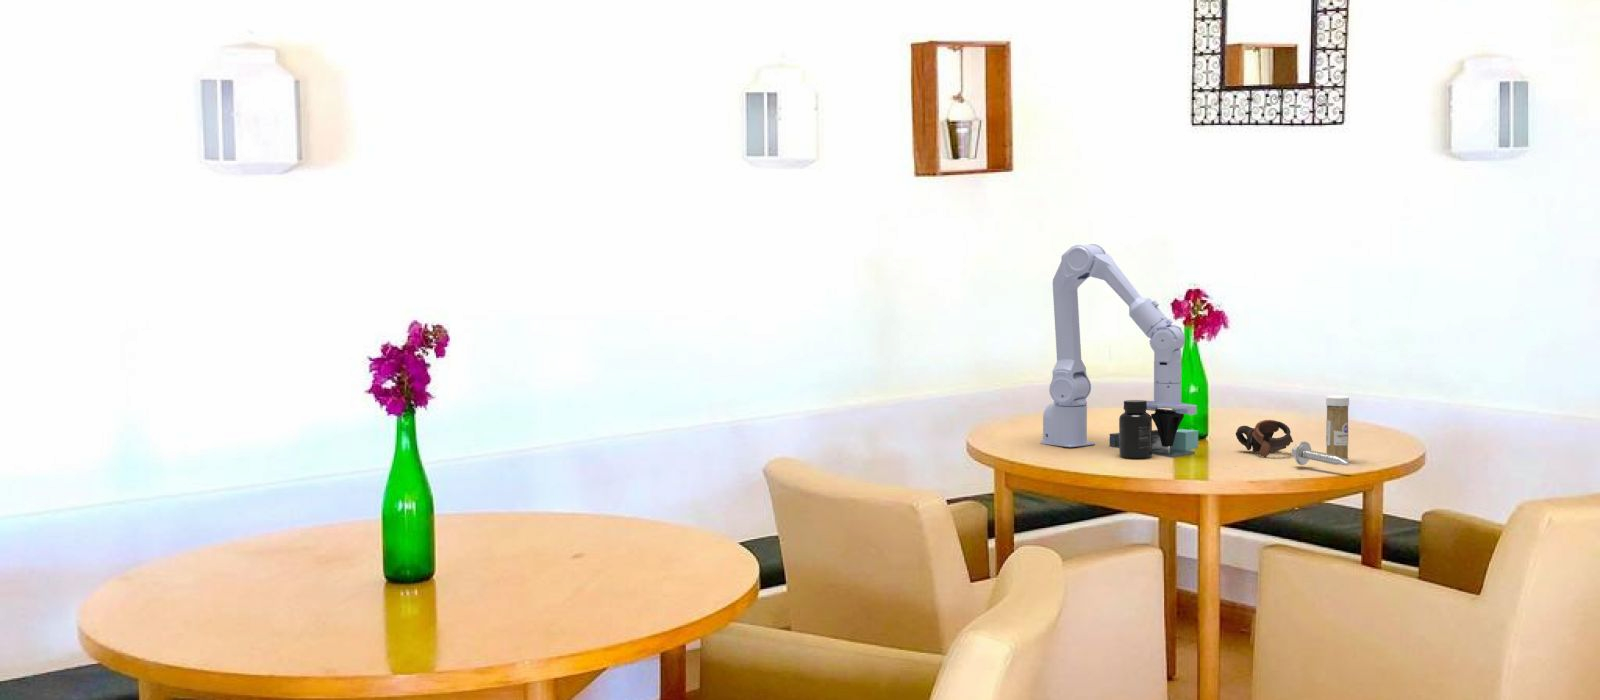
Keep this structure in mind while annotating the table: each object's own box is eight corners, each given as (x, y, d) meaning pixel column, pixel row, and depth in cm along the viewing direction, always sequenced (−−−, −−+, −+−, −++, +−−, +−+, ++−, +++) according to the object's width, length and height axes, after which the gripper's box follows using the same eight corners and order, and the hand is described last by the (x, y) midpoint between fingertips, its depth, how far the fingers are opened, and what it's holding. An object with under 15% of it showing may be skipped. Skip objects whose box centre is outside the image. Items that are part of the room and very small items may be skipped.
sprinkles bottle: (1344, 462, 379) (1345, 397, 378) (1322, 461, 381) (1323, 396, 380) (1351, 460, 382) (1352, 395, 381) (1329, 458, 385) (1330, 394, 384)
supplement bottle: (1150, 455, 393) (1150, 399, 392) (1153, 459, 386) (1153, 402, 386) (1117, 455, 394) (1118, 399, 393) (1120, 459, 387) (1120, 402, 386)
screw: (1286, 464, 376) (1288, 441, 375) (1301, 462, 379) (1303, 439, 378) (1340, 475, 365) (1342, 451, 365) (1355, 473, 368) (1357, 449, 368)
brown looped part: (1292, 452, 395) (1298, 422, 391) (1282, 478, 388) (1288, 447, 384) (1237, 438, 400) (1242, 407, 395) (1226, 463, 393) (1231, 432, 388)
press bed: (1109, 449, 403) (1109, 433, 403) (1131, 447, 407) (1131, 431, 407) (1172, 457, 389) (1172, 441, 388) (1194, 455, 393) (1194, 438, 392)
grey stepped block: (1131, 447, 398) (1131, 430, 398) (1150, 445, 402) (1150, 428, 402) (1149, 449, 394) (1149, 433, 394) (1168, 447, 398) (1168, 430, 398)
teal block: (1169, 451, 399) (1169, 431, 399) (1182, 449, 403) (1182, 429, 403) (1185, 453, 397) (1185, 432, 396) (1198, 451, 400) (1198, 430, 400)
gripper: (1129, 381, 397) (1129, 444, 398) (1180, 385, 385) (1180, 450, 386) (1151, 379, 401) (1151, 441, 402) (1203, 383, 389) (1203, 447, 390)
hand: (1167, 446), depth 394 cm, fingers closed
